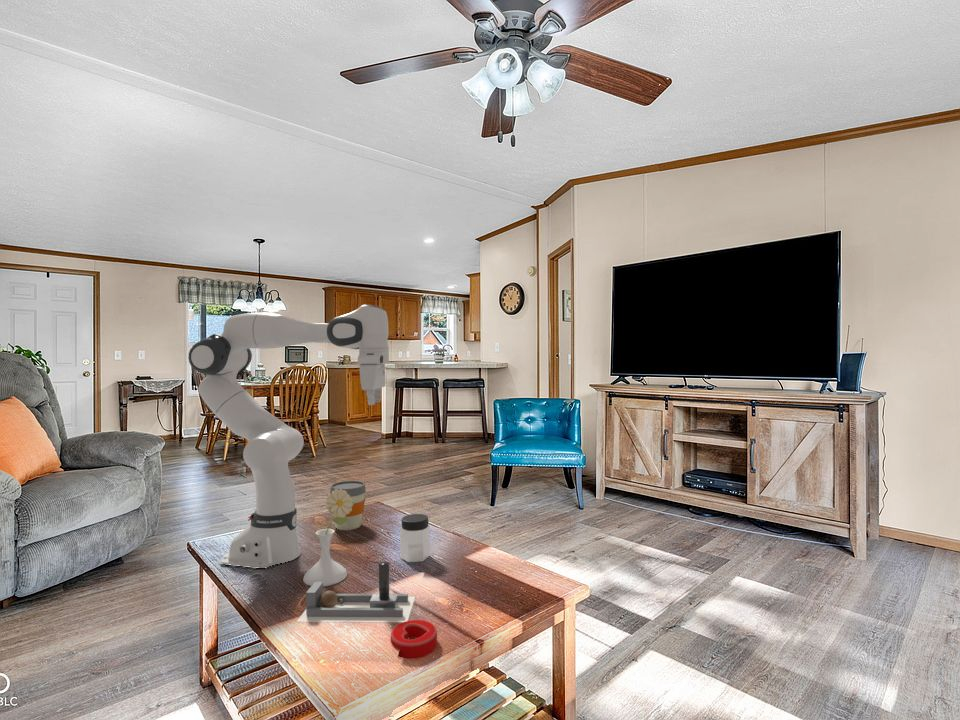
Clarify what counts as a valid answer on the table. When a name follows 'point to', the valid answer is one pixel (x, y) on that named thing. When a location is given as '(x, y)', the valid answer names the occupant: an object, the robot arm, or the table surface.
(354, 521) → the reusable coffee cup
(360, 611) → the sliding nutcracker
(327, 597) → the brown ball
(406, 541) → the jar
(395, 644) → the decorative ornament
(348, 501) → the flower in vase
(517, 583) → the table surface
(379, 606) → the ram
